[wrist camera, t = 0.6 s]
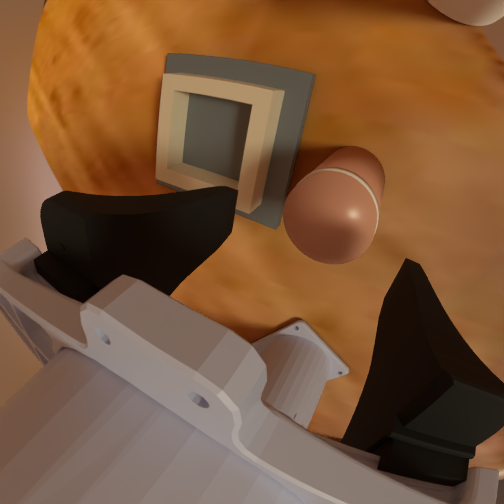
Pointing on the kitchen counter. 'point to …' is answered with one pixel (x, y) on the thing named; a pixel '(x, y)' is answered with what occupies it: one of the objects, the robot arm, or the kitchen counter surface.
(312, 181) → the tube
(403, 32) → the kitchen counter surface
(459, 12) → the can
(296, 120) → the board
